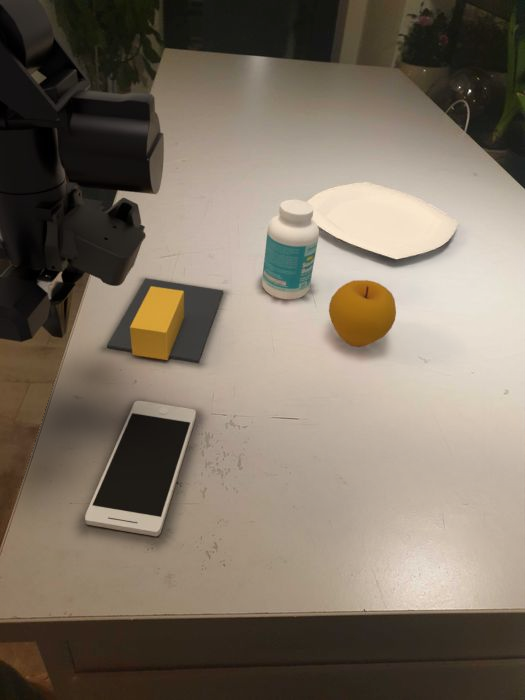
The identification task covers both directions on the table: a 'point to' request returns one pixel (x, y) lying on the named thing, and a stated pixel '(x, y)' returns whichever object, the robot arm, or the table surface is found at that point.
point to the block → (157, 323)
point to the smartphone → (142, 469)
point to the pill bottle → (290, 250)
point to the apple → (362, 312)
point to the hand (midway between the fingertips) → (59, 335)
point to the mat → (193, 328)
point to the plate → (381, 220)
